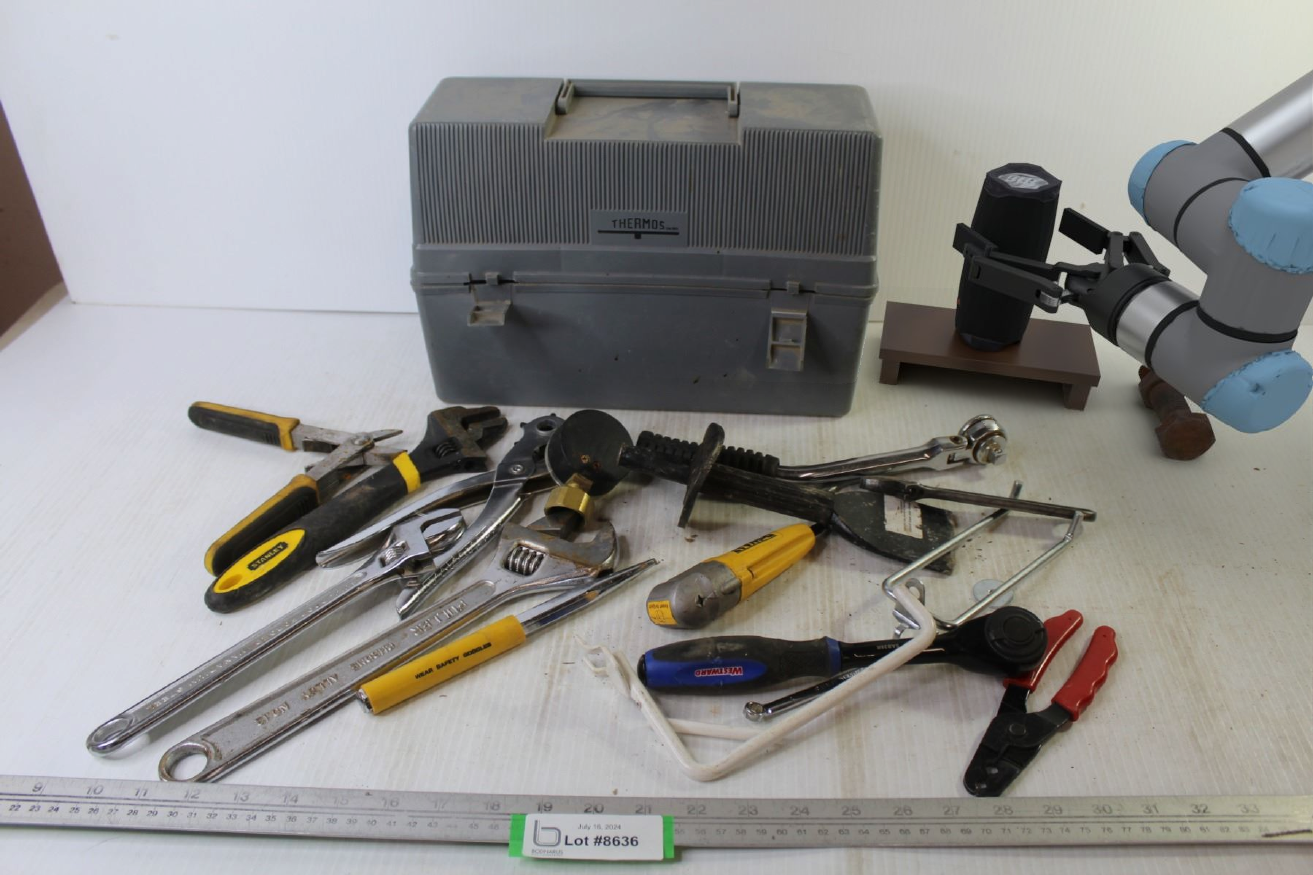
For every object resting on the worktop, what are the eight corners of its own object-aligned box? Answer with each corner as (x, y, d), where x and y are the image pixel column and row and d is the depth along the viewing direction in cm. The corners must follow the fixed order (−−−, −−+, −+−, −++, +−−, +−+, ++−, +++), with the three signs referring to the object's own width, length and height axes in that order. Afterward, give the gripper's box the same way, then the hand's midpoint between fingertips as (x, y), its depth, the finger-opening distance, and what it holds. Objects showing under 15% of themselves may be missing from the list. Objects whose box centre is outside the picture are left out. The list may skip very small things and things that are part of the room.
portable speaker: (945, 348, 112) (978, 184, 100) (955, 312, 119) (986, 155, 107) (1023, 361, 109) (1065, 195, 98) (1028, 323, 116) (1067, 164, 105)
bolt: (1149, 397, 116) (1183, 470, 103) (1116, 376, 115) (1147, 446, 102) (1188, 363, 112) (1228, 433, 100) (1155, 340, 112) (1191, 408, 99)
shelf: (1079, 360, 119) (1090, 324, 116) (1089, 413, 110) (1101, 376, 107) (881, 335, 124) (886, 300, 121) (874, 384, 115) (880, 347, 112)
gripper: (1023, 372, 89) (905, 273, 105) (1239, 330, 95) (1097, 244, 112) (1042, 299, 85) (916, 208, 101) (1268, 260, 91) (1115, 181, 107)
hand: (1011, 226), depth 106 cm, fingers open, 13 cm apart
